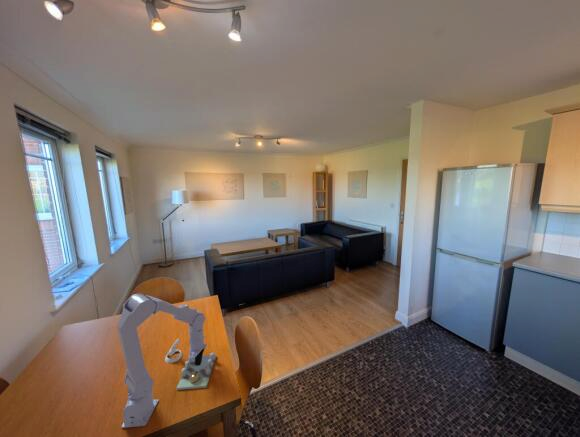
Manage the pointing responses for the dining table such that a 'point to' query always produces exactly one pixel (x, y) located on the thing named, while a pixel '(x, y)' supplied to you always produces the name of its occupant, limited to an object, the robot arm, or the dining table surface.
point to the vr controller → (173, 353)
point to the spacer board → (203, 370)
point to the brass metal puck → (194, 377)
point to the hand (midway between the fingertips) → (198, 364)
